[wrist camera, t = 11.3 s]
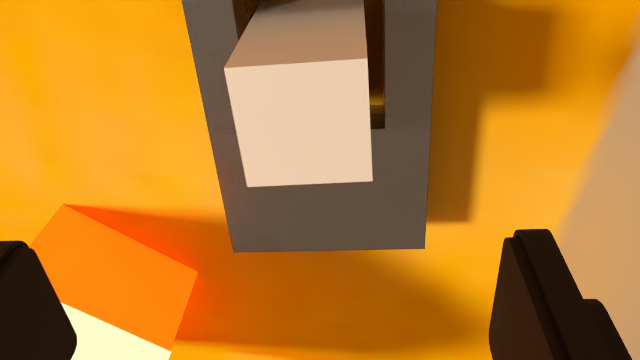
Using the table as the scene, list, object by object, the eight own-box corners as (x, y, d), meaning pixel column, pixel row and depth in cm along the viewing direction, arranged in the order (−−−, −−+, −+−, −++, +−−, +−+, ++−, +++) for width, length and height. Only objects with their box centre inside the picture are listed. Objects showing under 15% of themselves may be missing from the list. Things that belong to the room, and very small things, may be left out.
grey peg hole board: (159, -213, 19) (136, -219, 17) (438, -238, 18) (449, -248, 16) (241, 223, 30) (233, 252, 28) (419, 219, 29) (424, 248, 27)
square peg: (260, 1, 23) (223, 67, 17) (363, -7, 23) (367, 58, 16) (274, 95, 26) (247, 187, 19) (367, 90, 25) (372, 181, 19)
